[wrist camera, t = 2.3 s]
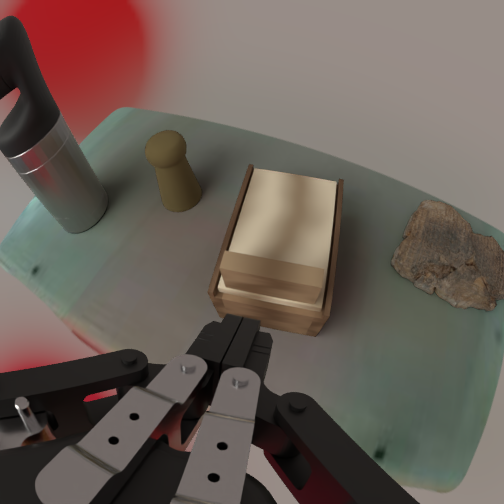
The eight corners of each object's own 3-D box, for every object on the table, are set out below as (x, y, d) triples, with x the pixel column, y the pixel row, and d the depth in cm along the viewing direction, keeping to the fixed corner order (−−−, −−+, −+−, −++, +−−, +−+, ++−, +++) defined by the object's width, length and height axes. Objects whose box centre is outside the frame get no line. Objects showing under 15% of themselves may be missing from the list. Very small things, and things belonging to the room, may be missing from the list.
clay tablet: (507, 262, 35) (414, 199, 41) (524, 248, 31) (426, 179, 37) (492, 340, 30) (384, 271, 36) (513, 331, 26) (397, 254, 32)
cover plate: (219, 291, 28) (210, 268, 24) (255, 174, 35) (253, 142, 30) (319, 311, 27) (330, 291, 22) (335, 187, 33) (342, 156, 29)
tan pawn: (205, 205, 42) (190, 146, 32) (164, 217, 41) (139, 162, 32) (198, 175, 45) (183, 118, 35) (160, 186, 44) (138, 132, 34)
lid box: (219, 317, 34) (207, 292, 27) (252, 205, 41) (249, 164, 34) (315, 336, 32) (329, 316, 25) (332, 219, 40) (343, 179, 33)
